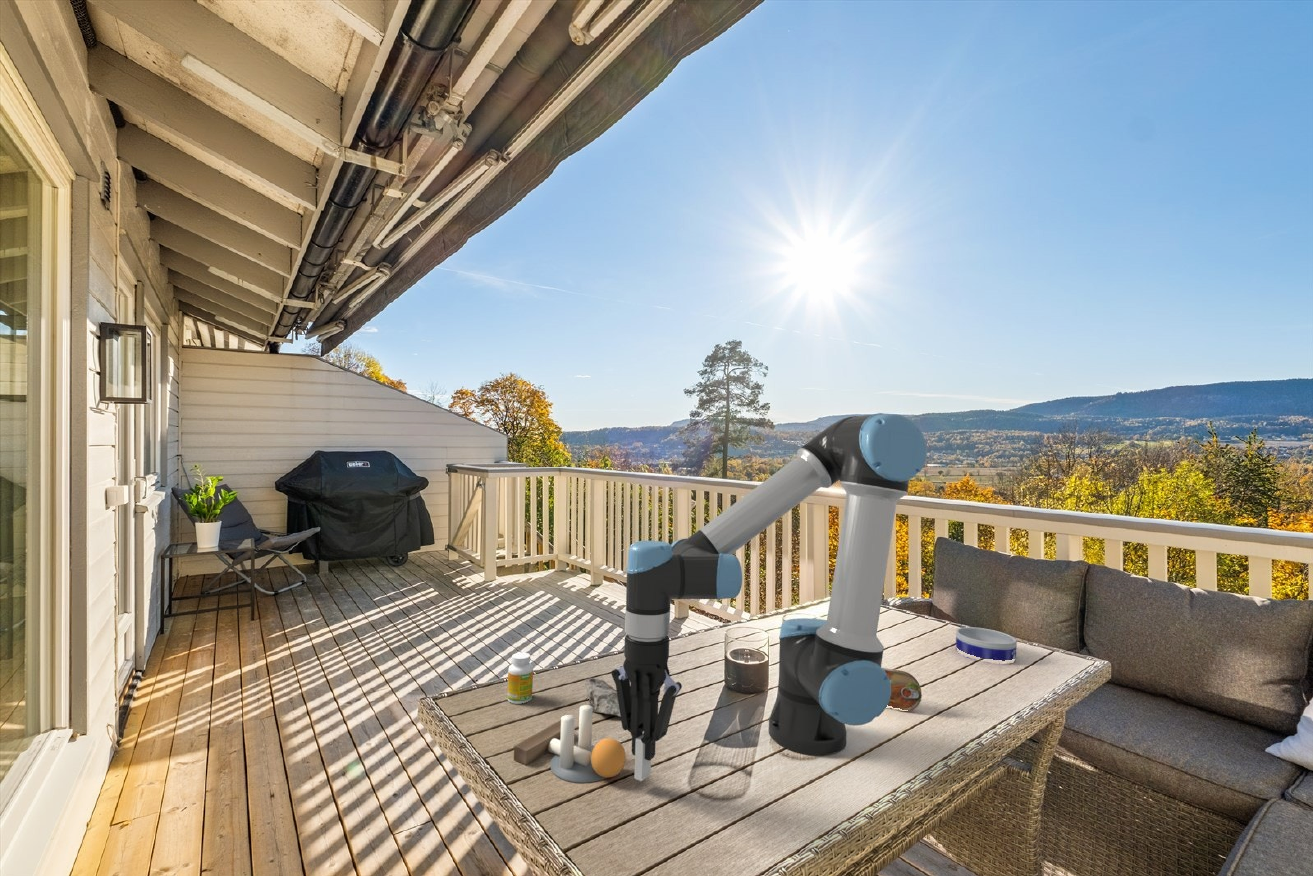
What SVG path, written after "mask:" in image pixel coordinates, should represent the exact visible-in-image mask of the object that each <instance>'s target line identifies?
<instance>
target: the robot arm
mask: <svg viewBox="0 0 1313 876" xmlns="http://www.w3.org/2000/svg"><path fill="white" fill-rule="evenodd" d="M927 456H928V447H927V441H926V438H925V436H924V434H923V432H922V431H921V430H920V429H919V427H918V425H917V424H916V423H915V422H913V421H912V420H911V419H909V418H908V417H906V416H903V415H901V414H896V413H882V412H878V413H875V414H869V415H868V414H867V415H857V416H856V415H855V416H854V415H853V416H847V417H844V418H842V419H838V420H837V421H836V422H834V423H833V424H830V425H829V426H828V427H826V428H825V429H824V430H823V431H820V433H818V434H817V435H816V436H815V437H813V438H812V439H810V440H809V441H807V443H806V444H804V445H803V446H801V447H800V448H799V449H797V452H796V457H795V458H794V459H792V460H791V461H789V462H788V463H787V464H786V465H784V466H783V467H782V468H781V469H778V470H777V471H776V472H775V473H773V474H772V475H771V476H770V477H768V478H767V479H766V480H764V481H763V482H761V483H760V484H759V485H758V486H756V487H755V488H753V489H752V490H751V491H749V492H748V493H747V494H746V495H744V496H743V497H741V498H740V499H738V501H736V502H734V503H733V504H732V505H731V506H729V507H728V508H727V509H725V510H724V511H722V512H721V513H720V514H719V515H717V516H716V517H715V518H713V519H712V520H711V521H709V522H708V523H707V524H705V525H704V526H703V527H701V528H700V529H699V530H697V531H696V532H694V533H693V534H691V535H690V536H689V537H687V538H680V539H677V540H675V541H673V542H672V543H671V544H670V543H669V542H666V541H660V540H640V541H638V540H637V541H635V542H633V543H632V544H631V545H629V548H628V553H627V554H628V556H627V566H626V568H625V569H626V592H625V595H626V597H625V598H626V600H625V618H624V619H625V620H624V631H625V634H626V635H625V636H624V646H623V647H624V648H623V650H624V651H623V655H624V657H625V659H624V661H623V664H622V665H621V666H619V667H617V668H615V669H613V670H611V673H610V674H611V677H612V679H613V681H614V684H615V687H616V689H615V690H617V696H618V703H619V709H620V716H621V717H620V722H621V728H622V729H623V730H624V731H628V732H629V733H630V735H631V754H632V755H633V756H634V773H633V774H634V779H635V780H637V781H640V782H643V781H644V780H646V778H648V777H649V776H650V775H651V774H652V772H651V771H652V760H653V759H655V756H656V744H657V743H656V742H658V741H659V740H661V739H662V738H664V737H665V736H666V735H667V733H668V729H669V725H670V721H671V718H672V713H673V709H674V705H675V702H676V698H677V695H678V693H680V691H681V690H682V686H683V685H682V683H681V682H680V681H676V682H675V681H674V680H673V678H672V677H671V676H670V673H671V672H670V669H669V666H668V662H669V658H670V657H669V656H670V637H669V636H668V635H669V634H670V625H671V623H670V622H671V603H672V600H717V601H720V600H725V599H734V598H737V597H738V596H739V594H740V592H741V590H742V586H743V571H742V565H741V561H740V559H739V558H738V557H737V556H736V555H735V554H734V553H735V552H737V551H738V550H739V549H741V548H742V547H743V546H745V545H746V544H747V543H749V542H750V541H752V540H753V539H754V538H755V537H756V536H758V535H759V534H761V533H762V532H763V531H764V530H766V529H767V528H768V527H769V526H771V525H772V524H774V523H775V522H776V521H778V520H779V519H780V518H782V517H783V516H785V514H787V513H789V512H790V511H791V510H792V509H794V508H795V507H797V505H799V504H801V502H803V501H804V500H805V499H808V497H810V496H811V495H813V494H814V493H815V492H816V491H818V490H819V489H820V488H824V489H825V488H826V489H828V488H830V487H832V486H833V485H834V484H836V483H837V482H839V485H840V486H841V487H842V488H843V490H844V491H845V493H846V494H845V495H846V496H845V502H844V509H843V515H842V522H841V526H840V535H839V541H838V546H837V547H838V548H837V552H836V559H835V566H834V573H833V580H832V586H831V592H830V599H829V605H828V611H827V618H826V619H819V618H807V617H806V618H803V617H802V618H790V619H787V620H784V621H783V622H782V624H781V625H780V633H779V637H778V640H779V652H778V653H779V658H778V659H779V660H778V663H779V664H778V691H777V692H778V693H777V697H776V699H775V702H774V704H773V706H772V710H771V712H770V715H769V719H768V734H769V736H770V738H771V740H772V741H774V742H775V743H776V744H778V745H780V746H781V747H783V748H785V749H787V750H790V751H792V752H797V753H801V754H805V755H810V756H811V755H812V756H825V755H826V756H827V755H834V754H836V753H839V752H841V751H842V750H843V749H845V747H846V745H847V732H848V731H847V728H846V725H847V726H853V727H854V726H863V725H866V724H869V723H872V722H873V720H874V719H876V718H878V717H880V716H881V715H882V714H883V712H884V711H885V709H887V708H886V707H887V705H888V703H889V700H890V696H891V683H890V680H889V678H888V676H887V674H886V672H885V670H884V669H883V668H884V667H882V664H883V663H882V662H883V658H884V657H883V655H884V645H883V644H882V642H881V641H880V639H879V638H878V636H877V634H878V626H879V620H880V613H881V606H882V600H883V594H884V586H885V582H886V581H885V580H886V574H887V568H888V561H889V556H890V555H889V554H890V548H891V540H892V535H893V530H894V529H893V528H894V521H895V515H896V509H897V508H896V507H897V502H898V501H899V500H900V499H902V498H904V497H905V496H906V495H907V494H908V490H909V486H910V485H909V484H910V480H911V479H913V478H915V477H916V475H917V474H918V473H920V472H921V471H922V470H923V468H924V467H925V465H926V461H927ZM663 685H664V686H663ZM662 686H663V690H662V692H663V693H664V694H663V695H662V698H661V701H660V705H659V698H660V695H661V688H662Z"/></svg>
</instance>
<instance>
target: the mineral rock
mask: <svg viewBox="0 0 1313 876" xmlns="http://www.w3.org/2000/svg"><path fill="white" fill-rule="evenodd" d="M584 685H585V690H584V696H585V697H586V698H587V699H586V698H585V699H586V700H588V699H589V700H588V702H589V705H590V706H592V707H593V712H594V713H599V714H600V713H601V714H605V715H611V716H615V717H616V716H618V718H619V717H620V718H621V716H620V709H619V703H618V696H617V690H616V689H614V687H613V686H612V685H610V684H608V682H606V681H605V680H603V679H599V678H595V677H586V680H585V681H584Z"/></svg>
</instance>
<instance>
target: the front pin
mask: <svg viewBox="0 0 1313 876" xmlns="http://www.w3.org/2000/svg"><path fill="white" fill-rule="evenodd" d="M577 746H578V745H574V760H573V761H574V762H576V763H579V764H581V765H584V766H587V765H589V764H590V763H591V754H592V752H590V751H588V750H585V749H582V748H580V747H577ZM548 750H549V752H548V753H551V754H554V755H559V756H560V740H558V739H556V738H554V739H552V740H551V742H550V743H549V747H548Z"/></svg>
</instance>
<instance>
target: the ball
mask: <svg viewBox="0 0 1313 876" xmlns="http://www.w3.org/2000/svg"><path fill="white" fill-rule="evenodd" d="M621 743H622V742H620V741H619V740H617V739H615V738H611V737H606V738H602V739H601V740H599V741H598V742H597V743H596V744H595V745H594V746H595V747H594V748H593V750H592V754H591V764H592V767H593V769H594V770H595V772H596V773H597V774H598V775H600V776H602V777H606V778H605V779H607V778H614V777H616V776H617V775H619V773H620V772H622V770H623V768H624V766H625V763H626V751H625V748H624V746H623V744H621Z"/></svg>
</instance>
